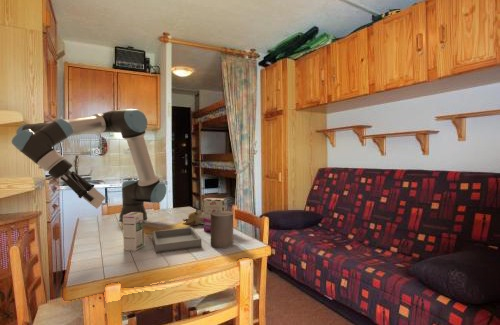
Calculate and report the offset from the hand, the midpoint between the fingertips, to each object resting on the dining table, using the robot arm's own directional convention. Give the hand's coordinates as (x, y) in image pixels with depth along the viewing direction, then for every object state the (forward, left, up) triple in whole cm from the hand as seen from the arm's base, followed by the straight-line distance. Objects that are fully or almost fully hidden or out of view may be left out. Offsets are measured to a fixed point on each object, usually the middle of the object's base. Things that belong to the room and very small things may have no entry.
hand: (101, 203), depth 110 cm
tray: (0, +28, -20) cm, 35 cm away
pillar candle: (+10, +46, -20) cm, 51 cm away
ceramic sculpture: (-28, +43, -20) cm, 55 cm away
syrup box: (0, +11, -20) cm, 23 cm away
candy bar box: (-11, +49, -20) cm, 54 cm away
